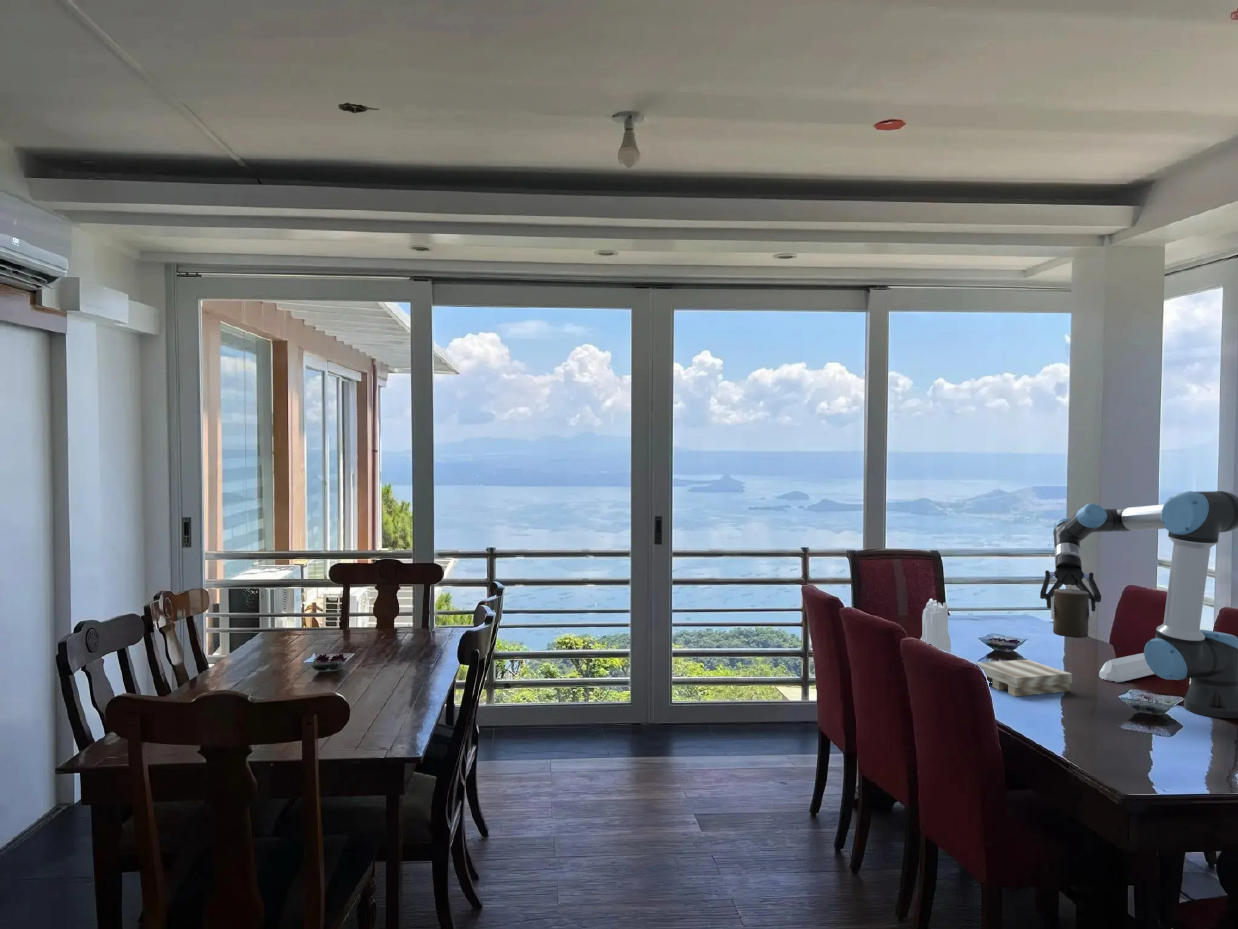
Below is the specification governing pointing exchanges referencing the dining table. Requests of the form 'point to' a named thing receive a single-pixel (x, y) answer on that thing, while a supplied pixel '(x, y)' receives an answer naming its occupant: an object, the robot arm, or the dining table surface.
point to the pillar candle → (1070, 613)
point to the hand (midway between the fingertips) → (1071, 617)
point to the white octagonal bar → (1125, 668)
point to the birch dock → (1026, 677)
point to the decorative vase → (936, 625)
